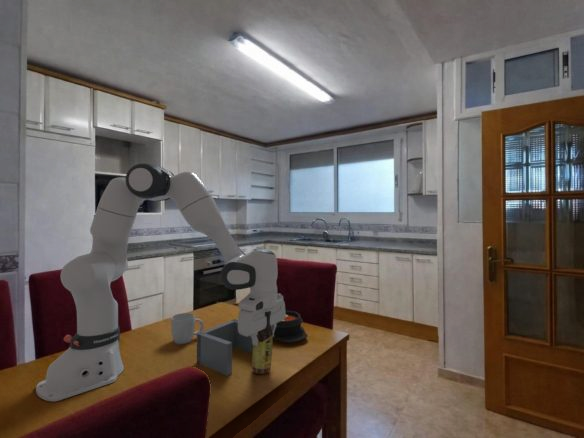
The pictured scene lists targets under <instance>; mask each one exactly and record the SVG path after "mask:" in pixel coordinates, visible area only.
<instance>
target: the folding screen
mask: <svg viewBox="0 0 584 438" xmlns="http://www.w3.org/2000/svg"><path fill="white" fill-rule="evenodd" d="M233 349H237V350H240V351H243V352H245V353H249V354H252V355H253V344H252V338H251V336H248V337H247V336H243V335H240V334H239V332H238V319H231V320H229V321H226V322H224V323H222V324H219V325H216V326H214V327H211V328H208V329H205V330H202V331H201V332H200V333H198V334H197V335H196V363H197V364H199V365H201V366H205V367H206V368H208V369H211V370H213V371H215V372H218V373H220V374H222V375H225V376H230V375H231V374H232V373H233Z"/></svg>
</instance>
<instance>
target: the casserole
mask: <svg viewBox="0 0 584 438" xmlns="http://www.w3.org/2000/svg"><path fill="white" fill-rule="evenodd" d="M285 313H286V316H285V319H284V320H282V321H280V322H278V323H276V328H275V331H274V337H273V340H278V341H281V342H282V343H296V342H299V341H300V342H301V341H303V340H305V339H306V338H308V334H307V332H306V330H305V328H304V326H302V323H303V322H304V320H303V319H302V317H301V314H300V313H298V312H297V311H293V310H286V309H285Z"/></svg>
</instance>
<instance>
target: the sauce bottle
mask: <svg viewBox="0 0 584 438" xmlns="http://www.w3.org/2000/svg"><path fill="white" fill-rule="evenodd" d="M270 315H271V311H268V312H265V316H266V317H267V325H266V328H265V329H263V330H261V331H259V332H258V335H256V336H257V338H258V339H260V341H259V342H260V343H259V344H258V345H256V346H255V345H253V354H252V361H251V362H252V363H251V364H252V367H251V369H252V372H253V373H255V374H259V375H264V374H265V375H266V374H267V373H269V372H270V371H271V368H272V357H273V356H272V354H273V342H274V341H273V340H274V339H273V332H272V329H271V326H270Z"/></svg>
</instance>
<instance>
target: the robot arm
mask: <svg viewBox="0 0 584 438" xmlns="http://www.w3.org/2000/svg"><path fill="white" fill-rule="evenodd" d="M168 200H172V201H173V202H174V203H175V206H176V207H177V209H178V210H179V212H180V214H181V215H182V218H183V219H184V220H185V222H186V223H187V224H188V225H189V226H190V228H191V229H193V230H194V231H196V232H199V233H201V234H203V235H205V236H207V237H209V239H210V240H212V241H213V243H214V244H215V246H216V247H217V249H218V250H219V252H220V253H221V255H222V257H223V258H224V260H225V264H224V265H223V267H222V268H221V270H220V276H219V277H220V281H221V283H222V285H223V286H224V287H225V288H227V289H228V290H231V291H238V290H243V289H249V293H247V295H246V296H245V297H243V298H242V299H241V300H240V301H239V302H238V308H239V309H240V310H239V311H238V316H237V320H238V332H239V334H240V335H243V336H247V337H248V336H251V338H252V344H253V345H255V346H256V345H258V344H259V343H260V342H259V341H260V339H258V338H257V336H256V335H258V332H259V331H261V330H263V329H265V328H266V325H267V317H266V316H265V312H268V311H271V315H270V326H271V329H272V332H273V337H274V331H275V328H276V323H278V322H280V321H282V320H284V319H285V316H286V313H285V310H286V303H285V301H284V295H282V294H281V293H278V285H277V279H278V273H279V272H278V259H277V256H276V254H275V253H274V252H273V251H271V250H269V249H266V248H254V249H252V250H251V251H250V252H247V253H245V252H244V251H243V250H242V249H241V248H240V247H239V245H238V243H237V242H236V240H235V239H234V237H233V236H232V234H231V232H230V231H229V229H228V227H227V226H226V223H225V220H224V218H223V217H222V215H221V211H220V209H219V207H218V205H217V203H216V201H215V199H214V197H213V196H212V194H211V192H210V191H209V189H208V188H207V187H206V185H205V184H204V182H203V180H201V179H200V177H199V176H197V174H196V173H194V172H193V171H183V172H179V173H177V174H174V173H173V172H172V171H169V170H167V169H166V168H164V167H162V166H159V165H158V166H157V165H154V164H152V163H145V162H144V163H143V162H141V163H138V164H135V165H133V166H131V168H129V169H128V171H127V172H126V175H125V177H123V176H122V177H115V178H112V179H111V180H110V181H109V182H108V184H107V186H106V187H105V189H104V191H103V193H102V194H101V197H100V199H99V202H98V204H97V208H96V210H95V214H94V217H93V219H92V223H91V226H90V228H89V232H90V234H91V236H92V247H91V250H90V252H89V253H87V254H82V255H78V256H77V257H75V258H73V259H72V260H70V261H68V262H67V263H65V265H64V266H63V267H62V269H61V271H60V275H59V276H60V277H59V278H60V281H61V284H62V286H63V287H64V288H65V289H66V290H68V291H69V292H70V294H71V295H72V298H73V301H74V304H75V309H76V333H75V334H74V335H73V336H72V335H70V334H66V335H65V336H64V337H63V341H64V342H66V343H67V344H69V347H68V348H67V349H66V350H65V351H64V352H63V353H62V354H60V355H59V356H58V357H57V358H56V359H55V360H53V362H51V363H50V364H49V366H48V368H47V370H46V375H45V379H43V380H42V381H40V382H38V383H37V384H36V387H35V393H36V395H37V396H38V397H39V398H40V399H42V400H44V401H47V402H58V401H62V400H64V399H68V398H70V397H74V396H76V395H77V396H78V395H80V394H83V393H86V392H89V391H92V390H95V389H98V388H100V387H103V386H107V385H109V384H112V383H114V382H115V381H116V380H117V379H118V377H119V375H120V374H122V372H123V371H124V369H125V366H124V364H123V361H122V356H121V350H120V345H119V344H120V343H119V342H120V340H121V339H120V336H121V331H120V325H119V304H118V302H117V300H116V299H115V298H114V296H113V293H112V289H111V283H112V282H114V281H117V280H119V278H120V277H122V275H124V274H125V272H126V271H127V269H128V266H129V264H128V263H129V262H128V258H127V254H128V243H129V238H130V236H131V233H132V228H133V227H134V223H135V220H136V218H137V214H138V210H139V208H140V206H141V204H143V202H145V201H152V202H156V201H157V202H162V201H163V202H164V201H168Z"/></svg>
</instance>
